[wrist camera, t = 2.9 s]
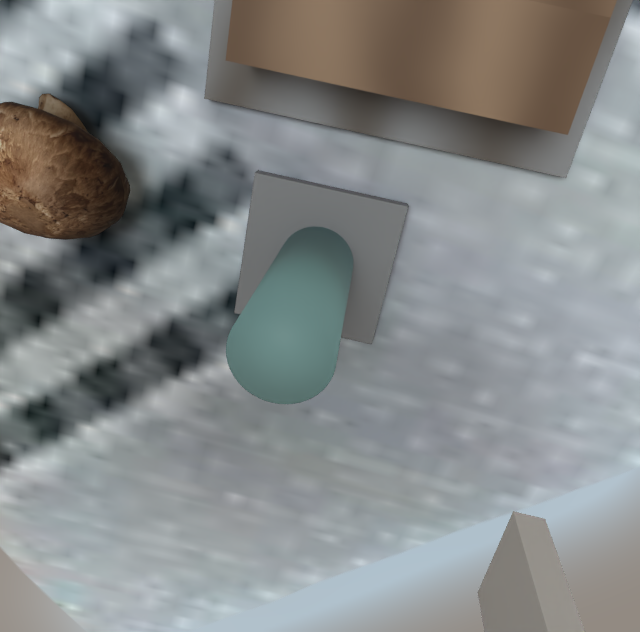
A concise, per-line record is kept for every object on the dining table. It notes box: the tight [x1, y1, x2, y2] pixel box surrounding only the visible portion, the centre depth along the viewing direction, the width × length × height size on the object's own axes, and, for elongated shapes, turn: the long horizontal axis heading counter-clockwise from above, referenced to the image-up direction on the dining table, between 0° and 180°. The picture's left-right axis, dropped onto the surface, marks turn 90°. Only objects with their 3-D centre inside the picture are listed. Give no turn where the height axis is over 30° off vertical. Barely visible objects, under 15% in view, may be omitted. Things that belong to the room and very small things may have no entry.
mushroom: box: [0, 94, 130, 239], centre depth 28 cm, size 8×8×6 cm
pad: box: [234, 170, 408, 344], centre depth 30 cm, size 8×8×1 cm
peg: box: [226, 226, 353, 404], centre depth 25 cm, size 4×4×11 cm
